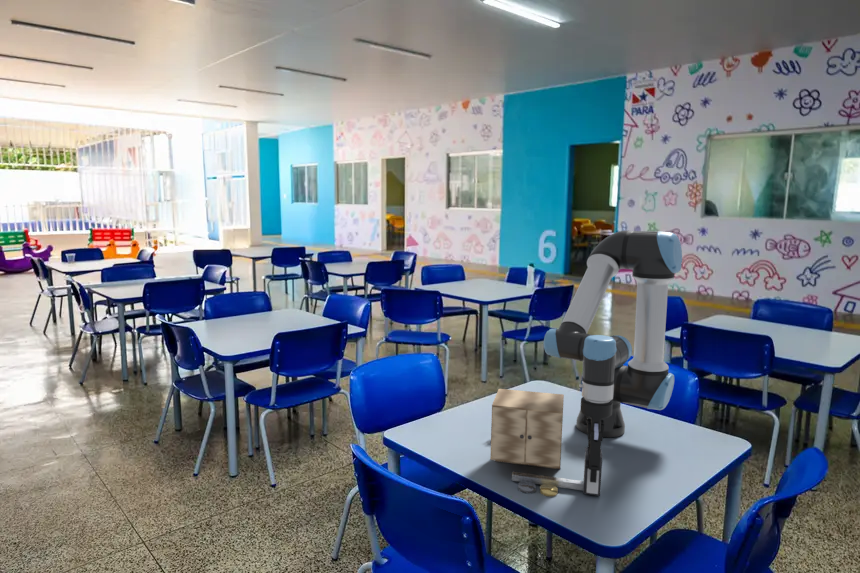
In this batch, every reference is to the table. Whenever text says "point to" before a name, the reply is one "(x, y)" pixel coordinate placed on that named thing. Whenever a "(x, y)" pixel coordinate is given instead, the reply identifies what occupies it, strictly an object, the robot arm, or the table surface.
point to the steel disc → (527, 487)
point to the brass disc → (548, 490)
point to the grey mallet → (561, 481)
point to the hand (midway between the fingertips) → (591, 487)
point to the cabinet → (527, 428)
